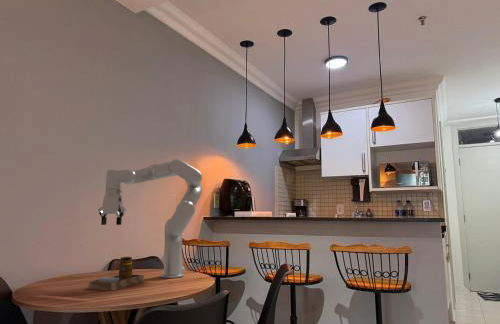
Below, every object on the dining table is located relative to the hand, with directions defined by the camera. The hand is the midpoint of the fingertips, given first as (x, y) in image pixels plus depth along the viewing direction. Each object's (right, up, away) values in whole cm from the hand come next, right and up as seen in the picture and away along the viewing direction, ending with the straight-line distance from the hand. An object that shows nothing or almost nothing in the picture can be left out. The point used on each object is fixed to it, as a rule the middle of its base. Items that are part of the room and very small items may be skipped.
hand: (111, 224), depth 190 cm
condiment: (+13, -25, -18) cm, 34 cm away
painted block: (+10, -23, -28) cm, 38 cm away
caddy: (+12, -25, -23) cm, 36 cm away
